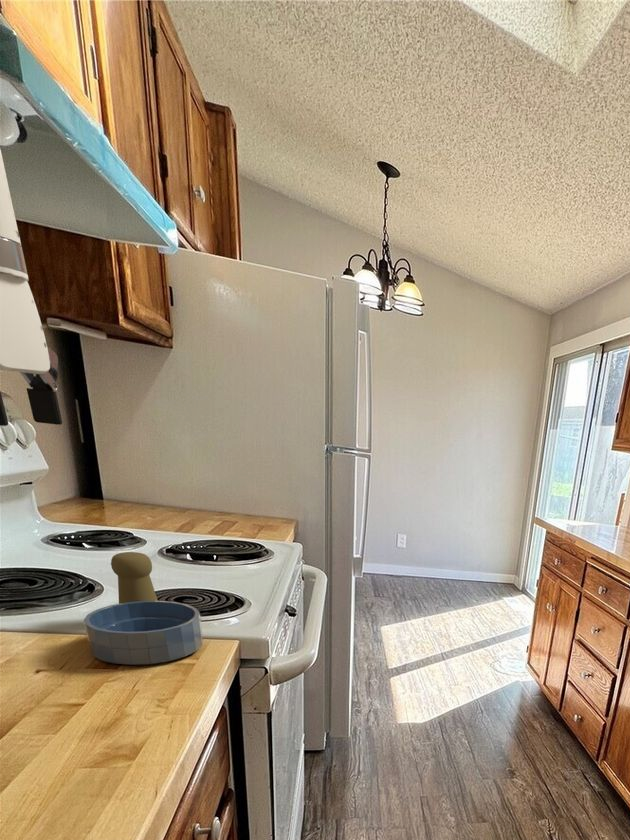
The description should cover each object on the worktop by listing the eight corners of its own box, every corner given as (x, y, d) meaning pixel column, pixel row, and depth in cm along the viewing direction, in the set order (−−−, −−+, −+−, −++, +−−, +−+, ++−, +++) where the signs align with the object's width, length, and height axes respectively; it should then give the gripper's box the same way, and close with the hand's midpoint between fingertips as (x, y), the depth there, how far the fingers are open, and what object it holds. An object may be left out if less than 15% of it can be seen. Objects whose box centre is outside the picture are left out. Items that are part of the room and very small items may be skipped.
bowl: (69, 664, 73) (60, 628, 71) (125, 628, 85) (119, 597, 83) (178, 671, 75) (172, 636, 73) (218, 635, 87) (214, 604, 85)
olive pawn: (123, 630, 84) (109, 559, 80) (116, 618, 88) (102, 549, 84) (168, 625, 88) (157, 557, 84) (159, 613, 92) (148, 547, 87)
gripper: (2, 269, 69) (37, 419, 77) (-130, 227, 54) (-71, 420, 61) (67, 279, 70) (95, 426, 77) (-45, 240, 55) (4, 429, 62)
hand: (22, 423), depth 69 cm, fingers open, 9 cm apart
